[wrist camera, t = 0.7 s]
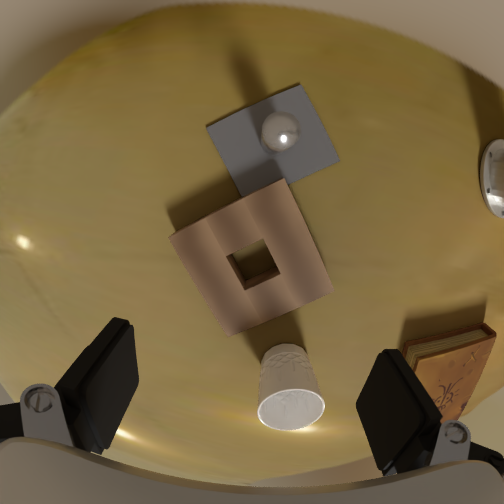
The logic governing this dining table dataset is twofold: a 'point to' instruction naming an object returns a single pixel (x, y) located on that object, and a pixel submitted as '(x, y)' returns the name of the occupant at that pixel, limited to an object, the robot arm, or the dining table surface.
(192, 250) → the hole block
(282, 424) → the white cup
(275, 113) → the peg
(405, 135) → the dining table surface
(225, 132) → the mat
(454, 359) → the diary
